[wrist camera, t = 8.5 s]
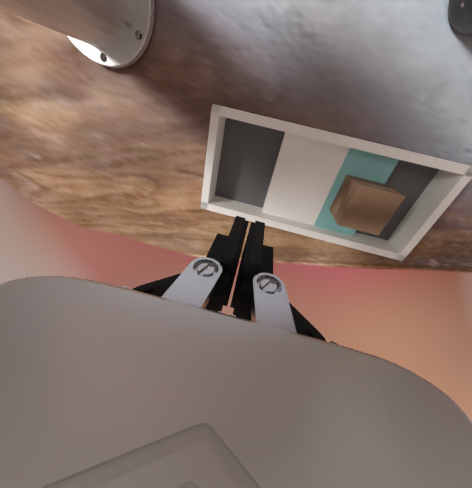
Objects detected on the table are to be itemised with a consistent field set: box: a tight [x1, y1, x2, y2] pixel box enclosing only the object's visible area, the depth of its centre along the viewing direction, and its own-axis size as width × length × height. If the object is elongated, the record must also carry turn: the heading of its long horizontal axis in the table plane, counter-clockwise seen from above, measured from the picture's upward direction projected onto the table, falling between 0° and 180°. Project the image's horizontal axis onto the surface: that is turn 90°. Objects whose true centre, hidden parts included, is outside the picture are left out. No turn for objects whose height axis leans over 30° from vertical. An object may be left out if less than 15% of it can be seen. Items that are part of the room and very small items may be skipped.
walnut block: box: [329, 175, 406, 236], centre depth 25 cm, size 5×5×5 cm
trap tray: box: [201, 104, 472, 261], centre depth 28 cm, size 13×30×4 cm, turn 79°
